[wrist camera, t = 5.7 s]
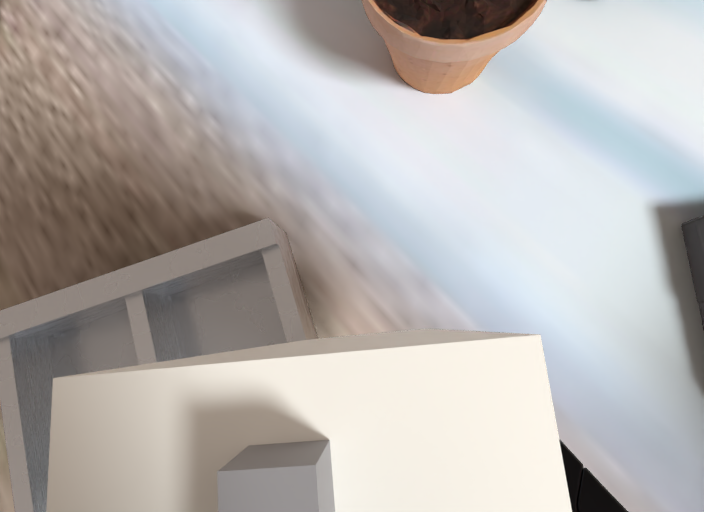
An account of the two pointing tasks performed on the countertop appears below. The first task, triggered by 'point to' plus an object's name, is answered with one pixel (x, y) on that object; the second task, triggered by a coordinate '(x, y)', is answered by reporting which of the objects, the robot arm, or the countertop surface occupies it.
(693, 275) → the disk drive
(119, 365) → the rack
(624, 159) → the countertop surface
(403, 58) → the potted plant
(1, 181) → the countertop surface
